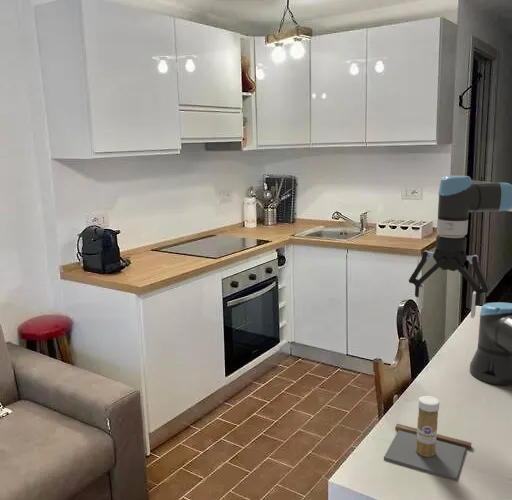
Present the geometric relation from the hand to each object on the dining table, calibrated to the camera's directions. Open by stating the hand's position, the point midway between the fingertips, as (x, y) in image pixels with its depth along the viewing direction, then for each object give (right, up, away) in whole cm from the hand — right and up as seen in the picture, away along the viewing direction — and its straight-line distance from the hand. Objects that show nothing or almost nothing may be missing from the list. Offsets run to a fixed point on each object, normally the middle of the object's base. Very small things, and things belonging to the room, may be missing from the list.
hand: (445, 312), depth 142 cm
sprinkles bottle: (-11, -31, -18) cm, 38 cm away
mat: (-12, -31, -18) cm, 38 cm away
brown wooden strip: (-8, -30, -11) cm, 33 cm away
